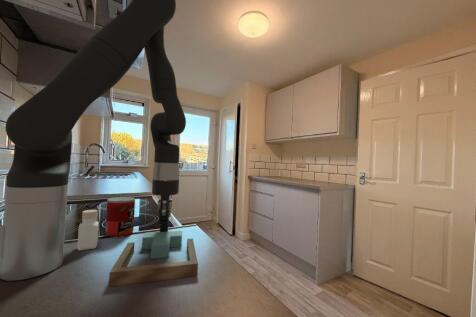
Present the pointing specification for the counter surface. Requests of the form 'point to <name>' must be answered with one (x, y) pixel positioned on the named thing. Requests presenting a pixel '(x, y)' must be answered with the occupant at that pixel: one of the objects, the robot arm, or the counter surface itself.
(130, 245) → the tray
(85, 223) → the salt shaker
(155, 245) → the teal T block
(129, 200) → the canned food
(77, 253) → the counter surface
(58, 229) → the robot arm
